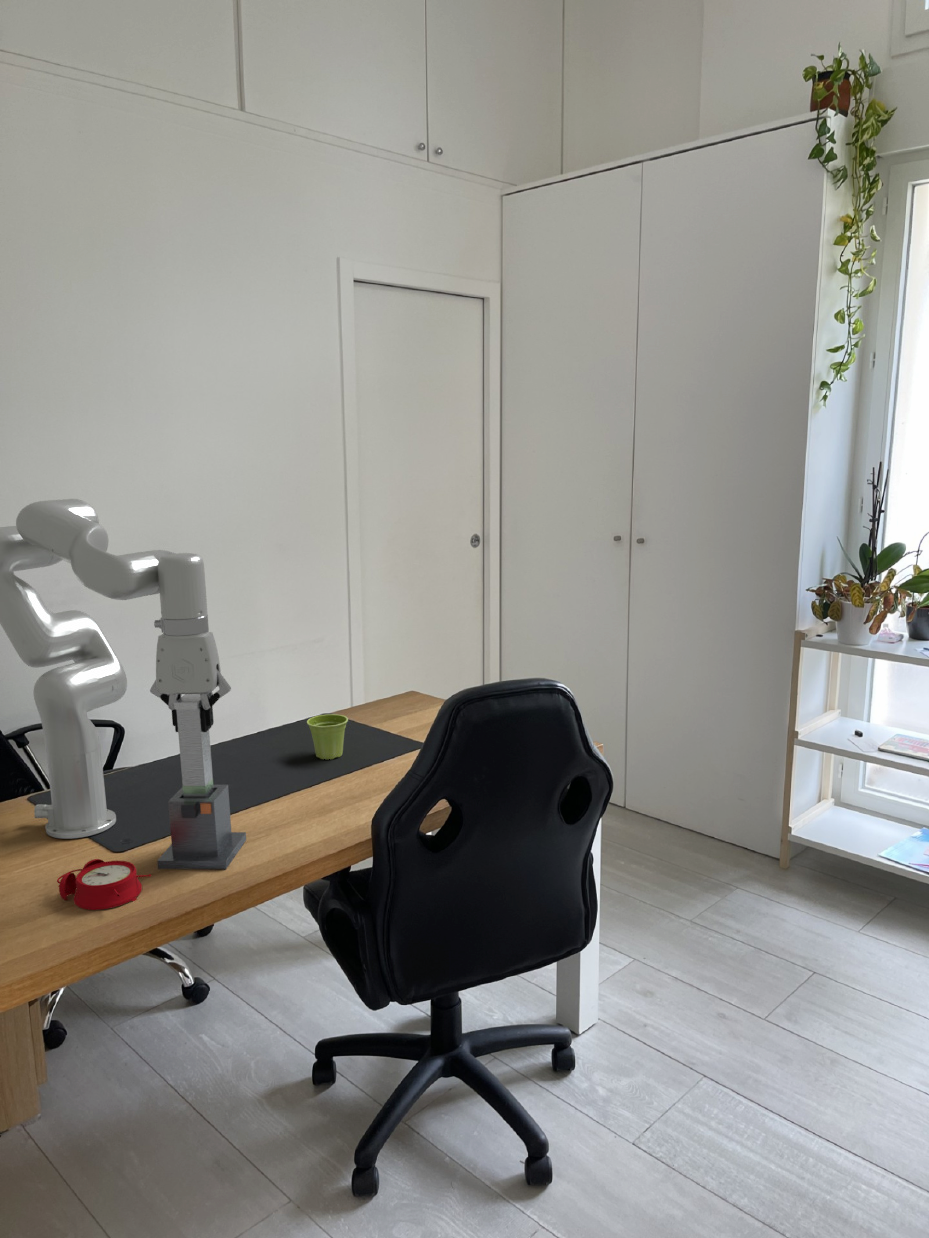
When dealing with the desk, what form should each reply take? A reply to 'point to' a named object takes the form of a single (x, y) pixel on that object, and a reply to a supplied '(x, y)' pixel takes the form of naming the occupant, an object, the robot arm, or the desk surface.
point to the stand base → (201, 832)
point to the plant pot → (328, 735)
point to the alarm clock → (102, 884)
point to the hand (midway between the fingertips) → (193, 728)
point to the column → (194, 748)
